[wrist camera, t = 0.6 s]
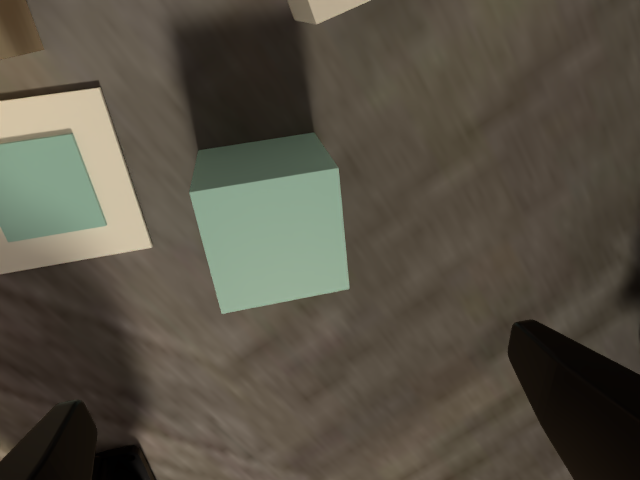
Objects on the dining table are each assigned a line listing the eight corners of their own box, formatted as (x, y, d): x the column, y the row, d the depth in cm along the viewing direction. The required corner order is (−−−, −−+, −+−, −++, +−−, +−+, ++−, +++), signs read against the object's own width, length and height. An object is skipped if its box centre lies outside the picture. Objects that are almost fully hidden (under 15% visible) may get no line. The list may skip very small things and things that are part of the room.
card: (152, 245, 20) (151, 249, 20) (-9, 273, 20) (-13, 278, 19) (100, 87, 17) (97, 88, 17) (-97, 114, 16) (-104, 116, 16)
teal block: (325, 232, 22) (349, 288, 17) (223, 251, 21) (221, 313, 17) (313, 131, 19) (338, 167, 15) (198, 149, 19) (189, 192, 14)
